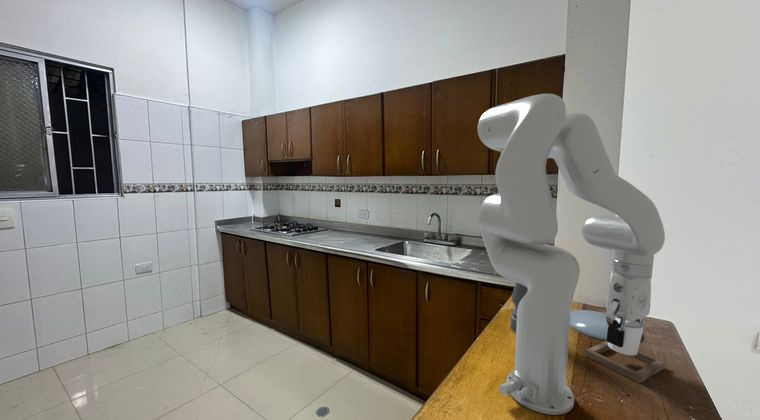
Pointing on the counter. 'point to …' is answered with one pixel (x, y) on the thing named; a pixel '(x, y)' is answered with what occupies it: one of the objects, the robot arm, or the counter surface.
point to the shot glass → (629, 338)
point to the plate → (589, 323)
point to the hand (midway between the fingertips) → (623, 340)
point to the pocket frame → (637, 376)
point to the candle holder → (517, 302)
